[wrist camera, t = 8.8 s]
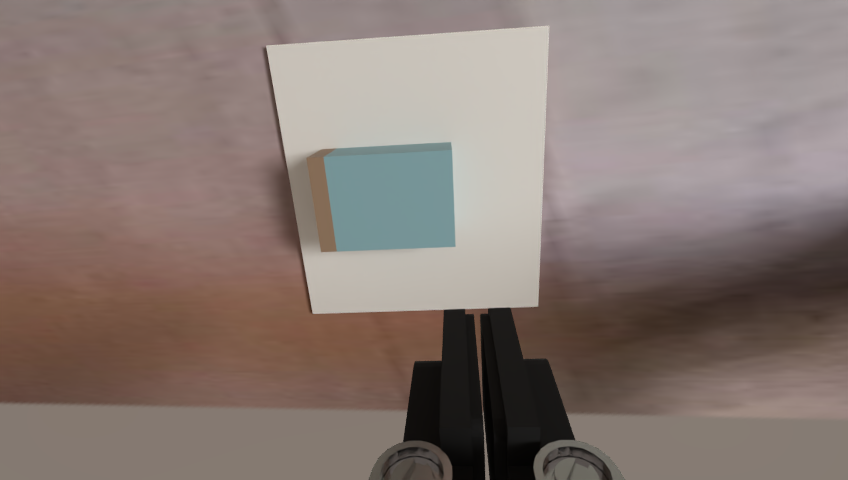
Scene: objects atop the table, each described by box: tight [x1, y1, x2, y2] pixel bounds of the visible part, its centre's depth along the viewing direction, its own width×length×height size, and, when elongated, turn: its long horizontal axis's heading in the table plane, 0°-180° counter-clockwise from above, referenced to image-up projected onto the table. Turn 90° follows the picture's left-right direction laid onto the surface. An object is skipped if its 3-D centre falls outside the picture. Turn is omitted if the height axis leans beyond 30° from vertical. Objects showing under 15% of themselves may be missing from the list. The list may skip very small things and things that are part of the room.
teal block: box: [306, 142, 456, 252], centre depth 32 cm, size 4×7×10 cm
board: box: [266, 26, 549, 314], centre depth 34 cm, size 20×22×1 cm
